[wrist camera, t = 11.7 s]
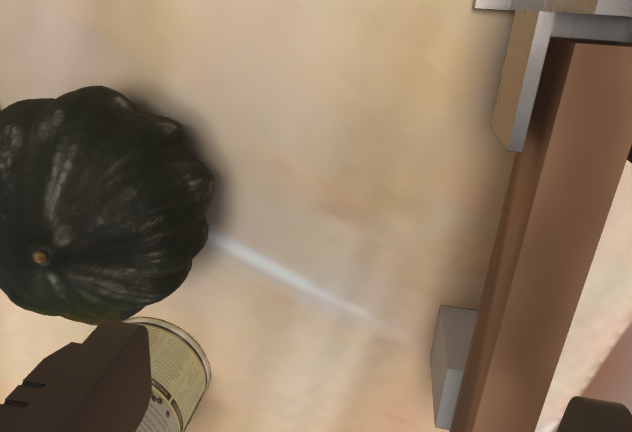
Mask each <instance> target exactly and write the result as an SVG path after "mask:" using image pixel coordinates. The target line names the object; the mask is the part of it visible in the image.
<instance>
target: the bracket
mask: <svg viewBox="0 0 632 432" xmlns="http://www.w3.org/2000/svg"><path fill="white" fill-rule="evenodd" d="M473 8H482V9H498V10H513V11H515V14H514V19H513V23H512V28H511V33H510V38H509V42H508V47H507V52H506V56H505V61H504V66H503V71H502V75H501V80H500V85H499V90H498V94H497V99H496V104H495V108H494V113H493V118H492V123H491V128H492V129H493V131H494V132H495V134H496V135H497V137H498V138H499V139H500V141H501V142H502V144H503V145H504V147H505V148H506V149H507V151H516V152H522V150H523V146H524V142H525V138H526V133H527V129H528V125H529V121H530V117H531V113H532V109H533V105H534V101H535V97H536V92H537V88H538V84H539V80H540V76H541V72H542V68H543V64H544V60H545V56H546V51H547V47H548V43H549V39H550V36H551V37H566V38H580V39H594V40H608V41H618V42H624V43H630V44H632V0H474V3H473ZM627 160H628V161H630V162H631V163H632V145H631V148H630V151H629V154H628V157H627Z"/></svg>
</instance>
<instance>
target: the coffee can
mask: <svg viewBox="0 0 632 432" xmlns="http://www.w3.org/2000/svg"><path fill="white" fill-rule="evenodd" d="M123 322H125V323H131V324H137V325H143V326H145V327H146V328H147V330H148V335H149V350H150V364H151V379H152V391H151V397H150V402H149V405H148V408H147V411H146V413H145V416H144V418H143V420H142V421H141V423H140V425H139V427H138V428H137V430H136V432H184V431H185V429H186V427H187V425H188V424H189V422H190V420H191V418H192V416H193V414H194V412H195V410H196V408H197V406H198V404H199V402H200V400H201V398H202V396H203V395H204V394H205V392H206V390H207V388H208V385H209V382H210V368H209V363H208V361H207V358H206V356H205V354H204V352H203V351H202V349H201V348H200V346H199V345H198V344H197V342H196V341H194V340H193V339H192V338H191V337H190V336H189V335H188V334H187V333H186V332H184V331H183V330H181V329H179V328H178V327H176V326H174V325H172V324H170V323H167V322H164V321H162V320H158V319H151V318H132V319H128V320H126V321H123Z"/></svg>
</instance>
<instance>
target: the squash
mask: <svg viewBox="0 0 632 432" xmlns="http://www.w3.org/2000/svg"><path fill="white" fill-rule="evenodd" d="M214 182H215V181H214V176H213V174H212V172H211V171H210V170H209V169H208V168H207V167H206V166H205V165H204V164H202V163H201V162H199V161H197V160H195V159H192V158H190V157H188V140H187V136H186V133H185V130H184V129H183V128H182V126H181V125H180V124H179V123H178V122H176V121H174V120H172V119H170V118H167V117H161V116H156V115H148V114H141V113H140V112H139V111H138V109H137V108H136V106H135V105H134V104H133V103H132V102H131V101H130V100H129V99H127V98H126V97H125V96H124V95H123V94H121V93H119V92H118V91H115V90H113V89H110V88H107V87H103V86H91V87H85V88H81V89H79V90H76V91H73V92H69V93H66V94H64V95H62V96H60V97H58V98H57V99H53V98H50V99H44V98H41V99H27V100H22V101H18V102H16V103H14V104H11V105H9V106H8V107H6V108H5V109H4V110H2V111H1V112H0V289H1V290H2V291H3V292H4V293H5V294H6V295H7V296H8V297H9V299H10V300H11V301H12V302H13V303H14V304H16V305H17V306H19V307H21V308H23V309H25V310H29V311H33V312H36V313H39V314H42V315H48V316H61V317H64V318H66V319H69V320H73V321H77V322H82V323H86V324H89V325H99V324H100V323H101V322H103V321H105V320H112V321H119V322H120V321H124V320H126V319H128V318H130V317H131V316H133V315H134V314H136V313H137V312H139V311H140V310H142V309H143V308H144V307H145V306H146V305H151V304H153V303H156V302H159V301H161V300H163V299H164V298H166V297H168V296H169V295H170V294H171V293H173V292H174V291H175V290H176V289H177V288H179V287H180V285H181V284H182V283H183V282H184V280H185V279H186V277H187V275H188V273H189V271H190V269H191V266H192V259H193V258H194V257H195V256H196V255H197V254H198V252H199V251H200V250H201V249H202V248H203V247H204V245H205V242H206V240H207V238H208V231H209V229H208V224H207V221H206V218H205V215H204V214H205V212H206V210H207V208H208V206H209V204H210V200H211V197H212V193H213V190H214Z"/></svg>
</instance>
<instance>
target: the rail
mask: <svg viewBox="0 0 632 432" xmlns="http://www.w3.org/2000/svg"><path fill="white" fill-rule="evenodd" d="M631 145H632V44H630V43H624V42H618V41H608V40H594V39H580V38H566V37H551V36H550V39H549V43H548V47H547V51H546V56H545V60H544V64H543V68H542V72H541V76H540V80H539V84H538V88H537V92H536V97H535V101H534V105H533V109H532V113H531V117H530V121H529V125H528V129H527V133H526V138H525V142H524V146H523V150H522V152H516V155H515V160H514V164H513V168H512V172H511V176H510V181H509V185H508V189H507V193H506V197H505V202H504V206H503V210H502V214H501V218H500V222H499V227H498V231H497V235H496V239H495V243H494V248H493V252H492V256H491V260H490V264H489V269H488V273H487V277H486V281H485V285H484V290H483V294H482V298H481V302H480V306H479V310H478V315H477V319H476V323H475V327H474V331H473V336H472V340H471V344H470V348H469V352H468V357H467V361H466V365H465V369H464V373H463V378H462V382H461V386H460V390H459V394H458V398H457V403H456V407H455V411H454V415H453V419H452V424H451V428H450V432H534V431H535V428H536V425H537V422H538V420H539V417H540V414H541V411H542V408H543V405H544V402H545V399H546V396H547V393H548V390H549V387H550V384H551V381H552V378H553V375H554V372H555V369H556V366H557V363H558V361H559V358H560V355H561V352H562V349H563V346H564V343H565V340H566V337H567V334H568V331H569V328H570V325H571V322H572V319H573V316H574V313H575V310H576V307H577V304H578V301H579V299H580V296H581V293H582V290H583V287H584V284H585V281H586V278H587V275H588V272H589V269H590V266H591V263H592V260H593V257H594V254H595V251H596V248H597V245H598V242H599V240H600V237H601V234H602V231H603V228H604V225H605V222H606V219H607V216H608V213H609V210H610V207H611V204H612V201H613V198H614V195H615V192H616V189H617V186H618V183H619V180H620V178H621V175H622V172H623V169H624V166H625V163H626V160H627V157H628V154H629V151H630V148H631Z"/></svg>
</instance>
